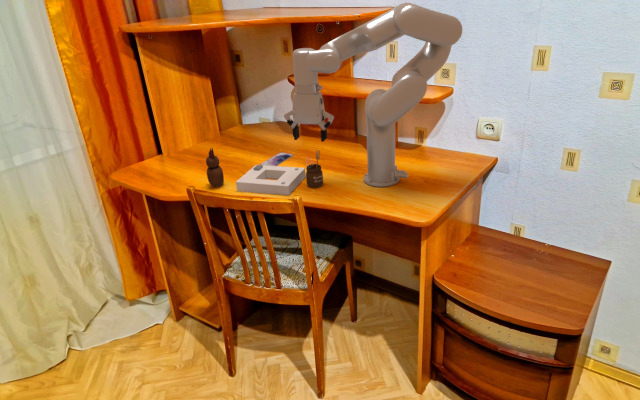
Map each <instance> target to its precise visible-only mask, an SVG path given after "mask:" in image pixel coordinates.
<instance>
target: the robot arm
mask: <svg viewBox="0 0 640 400" xmlns="http://www.w3.org/2000/svg"><path fill="white" fill-rule="evenodd" d="M462 34H463V25H462V23H461V21H460V20H459V18H457V17H456V16H453V15H450V14H448V13H443V12H439V11H436V10H433V9H430V8H427V7H423V6H421V5H418V4H415V3H411V2H403V3H400V4H398V5H396V6H395V7H393V8H391V9H389V10H387V11H386V12H383V13H382V14H380V15H377V16H376V17H375V18H372V19H370V20H369V21H367V22H365V23H363V24H361V25H359V26H357V27H356V28H355V27H354V29H352V30H349V31H348V32H345V33H343V34H341V35H339V36H338V37H336V38H334V39H332V40H330V41H328V42H327V43H325V44H323V45H322V46H321V47H320V48H319V49H317V50H315V49H314V48H311V47H302V48H297V49H294V50H293V52H292V66H293V67H292V69H293V79H294V80H293V81H294V93H293V96H292V110H290V111H289V112H287V113H285V114H284V115H283V117H284V119H285V121H286V123H287V125H289V126H290V129H292V137H293V139H294V140H293V141H297V140H298V139H299V138H300V136H301V135H300V127H299V126H298V125H301V124H302V125H318V126H319V127H320V128H321V129H320V142H321V143H323V142H324V141H326V140H327V138H328V128H329V126H330V125H331V124H332V123H333V120H334V118H335V116H334V115H333V114H331V113H330V112H327V111H326V110H325V104H324V98H323V94H322V92H321V90H323V85H321V84H320V83H319V76H318V74H319V73H321V74H333V73H336V72H337V71H338V70H339V69H340V68H341V67H342V62H344V61H345V60H348V59H349V58H351V57H353V56H356V55H358V54H361V53H368V52H369V53H370V52H374V51H377V50H378V49H381V48H382V47H384V46H386V45H389V44H390V43H391V42H393V41H395V40H397V39H400V38H401V37H403V36H407V37H410V38H412V39H416V40H420V41H422V42H425V43H424V45H423V47H421V48H420V50H419V51H418V53H416V54H415V56H413V57H412V58H411V59H410V60H409V61H407V63H406V64H405V65H403V66H402V67H401V68H400V69H398V70H397V71H396V72H395V73H394V75H392V77H391V78H392V79H391V86H390V87H389V88H388V89H387V90H386V89H384V88H377V89H376V88H375V89H373V90H372V91H371V92H370V93H369V94H368V95H367V97H366V98H365V103H364V110H365V111H364V112H365V113H364V114H365V123H366V127H365V128H366V154H367V158H366V159H367V173H365V174H364V176H363V182H364V184H367V185H368V186H371V187H376V188H377V187H378V188H379V187H380V188H382V187H383V188H384V187H391V186H393V185H396V184H398V183H399V181H400V179H401V178H402V179H408V176H409V175H408V174H409V173H408V172H406V170H403V169H402V170H399V168H398V165H396V123H397V122H398V121H400V120H401V119H402V118H403V117H404V116H405V115H407V113H409V112H410V111H411V110H412V109H414V107H416V106H417V105H418V104H419V103H420V102H421V101H422V99H424V97H425V95H426V93H427V90H428V81H429V80H430V79H432V77H433V76H434V75H435V74H436V73H438V71H439V70H441V68H443V66H444V65H445V64H446V62H447V61H448V58H449V56H450V53H451V50H452V46H453V45H455V44H457V43H458V41H460V39H461V37H462ZM291 116H292V118H291ZM325 119H328V120H327V122H325Z"/></svg>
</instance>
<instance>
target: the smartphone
mask: <svg viewBox="0 0 640 400" xmlns="http://www.w3.org/2000/svg"><path fill="white" fill-rule="evenodd" d="M292 157H294V154H293V153H287V152H279V153H277V154H275V155H273V156H272V157H269V158H268V159H267V160H265V161H263V162H261V163H260V164H259V165H266V166H280V165H281V164H282V163H284V162H285V161H287V160H289V159H290V158H292Z"/></svg>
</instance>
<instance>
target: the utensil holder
mask: <svg viewBox="0 0 640 400" xmlns="http://www.w3.org/2000/svg"><path fill="white" fill-rule="evenodd" d="M315 151H316V152H315V159H316V163H314V162H310V160H309V159H310V156H309V157H307V158H306V161H308V162H309V163H310V164H308V162H305V163H306V167H305V174H306V177H305V178H306V186H307V187H308V188H311V189H316V188H320V187H323V185H324V175H323V170H322V166H321V164H319V160H320V157H321V155H320V154H321V150H319V149H316V150H315Z"/></svg>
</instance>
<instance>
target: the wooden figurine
mask: <svg viewBox="0 0 640 400" xmlns="http://www.w3.org/2000/svg"><path fill="white" fill-rule="evenodd" d="M205 164H206V167H207V169H206V176H207V177H206V178H207V181H208V183H209V185H210V186H211V187H213V188H219V187H221V186H223V184H224V183H225V182H224V180H225V178H224V171H223V168H222V167H221V166H220V159H219V157H218V156H217V155H215V152H214V149H213V147H210V148H209V150H208V156H207V157H206V159H205Z"/></svg>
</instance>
